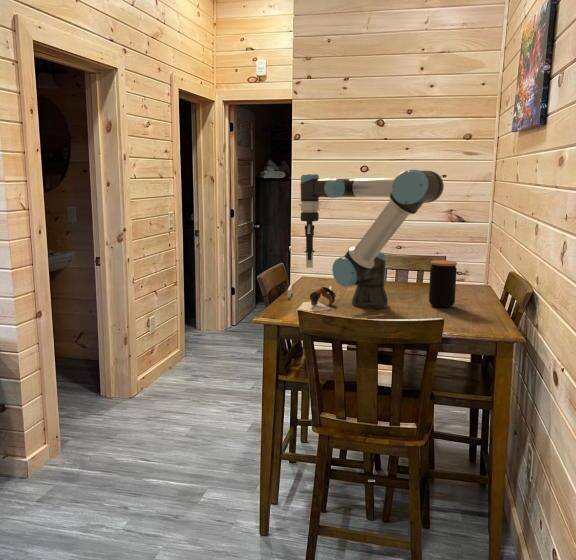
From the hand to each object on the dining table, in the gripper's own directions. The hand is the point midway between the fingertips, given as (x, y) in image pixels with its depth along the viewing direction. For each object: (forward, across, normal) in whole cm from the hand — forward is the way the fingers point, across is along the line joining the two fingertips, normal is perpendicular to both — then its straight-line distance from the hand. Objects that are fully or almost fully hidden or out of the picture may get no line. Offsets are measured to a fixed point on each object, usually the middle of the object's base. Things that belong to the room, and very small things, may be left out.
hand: (309, 267), depth 232 cm
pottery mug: (+16, +6, +3) cm, 17 cm away
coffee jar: (+16, -1, +56) cm, 58 cm away
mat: (+15, +10, 0) cm, 18 cm away
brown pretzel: (+15, -10, 0) cm, 18 cm away
